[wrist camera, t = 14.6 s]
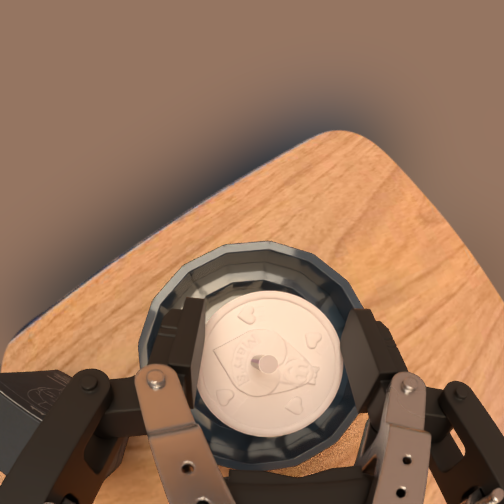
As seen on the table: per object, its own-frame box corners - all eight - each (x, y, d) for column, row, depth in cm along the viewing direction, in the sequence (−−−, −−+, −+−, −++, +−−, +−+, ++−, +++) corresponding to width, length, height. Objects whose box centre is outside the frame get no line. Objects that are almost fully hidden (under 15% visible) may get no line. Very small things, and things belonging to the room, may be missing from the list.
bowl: (172, 449, 21) (155, 476, 15) (155, 274, 25) (134, 252, 19) (350, 427, 22) (382, 445, 16) (329, 259, 26) (354, 233, 20)
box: (44, 423, 20) (-33, 444, 10) (58, 368, 22) (-24, 368, 12) (122, 466, 20) (66, 519, 10) (139, 409, 21) (81, 442, 11)
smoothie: (223, 306, 23) (209, 232, 9) (309, 329, 22) (407, 287, 9) (199, 391, 21) (146, 441, 7) (287, 414, 20) (360, 484, 7)
